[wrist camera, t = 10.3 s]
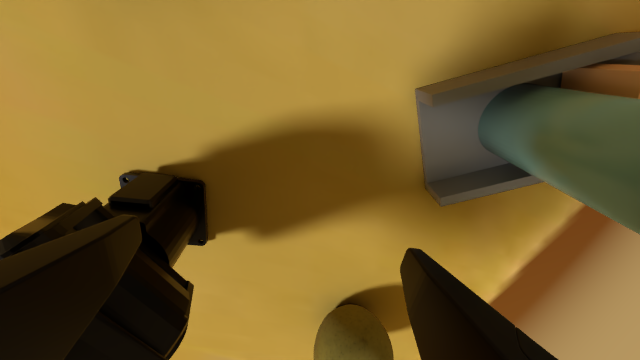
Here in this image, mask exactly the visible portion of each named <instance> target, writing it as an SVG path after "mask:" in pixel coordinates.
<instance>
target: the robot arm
mask: <svg viewBox="0 0 640 360" xmlns="http://www.w3.org/2000/svg"><path fill="white" fill-rule="evenodd" d="M126 178H128V179H129V181H128V180H127V179H126ZM119 181H120V186H121V189H120V190H118V191H117V192H115V193H114V194H113V195H111V196H110V197H109V198H108V202H109V203H107V204H106V205H105V206H102V204H103V203H102V202H100V201H99V200H98V199H97V198H96V197H95V198H94V199H92V200H91V201H89V202H87V203H86V204H85V203H84V202H83V201H82V202H81V203H79V204H78V205H72V204H66V203H62V204H60V205H59V206H57V207H55V208H54V209H52V210H51V211H49V212H47V213H46V214H44V215H42V216H41V217H39V218H37V219H36V220H34V221H32V222H30V223H28V224H27V225H25V226H23V227H21V228H19V229H18V230H16V231H14V232H12V233H11V234H9V235H7V236H6V237H4V238H3V239H1V240H0V360H169V359H170V358H171V356H172V355H173V354H174V353H175V351H176V350H177V348H178V347H179V345H180V343H181V342H182V340H183V338H184V335H185V333H186V330H187V326H188V320H189V313H190V307H191V301H192V294H193V288H194V285H193V284H192V283H191V282H189V281H186V280H185V279H184V278H183V277H181V276H180V275H179V274H178V273H177V272H176V271H175V270H174V269H173V268H172V267H173V266H174V264H175V263H176V261H177V259H178V258H179V256H180V255H181V253H182V252H183V250H184V248H185V247H186V245H198V246H203V245H205V244H206V243H207V241H208V230H207V209H206V189H205V184H204V182H203V181H201V180H194V179H185V178H177V177H176V176H173V175H164V174H154V173H145V172H144V173H142V174H138V173H124V174H122V175H121V176H120V177H119ZM196 185H199V186H200V188H198V187H196ZM200 239H202V240H203V241H201V240H200ZM400 273H401V279H402V284H403V290H404V295H405V301H406V306H407V311H408V315H409V319H410V323H411V326H412V330H413V333H414V336H415V340H416V343H417V347H418V350H419V354H420V357H421V360H558V359H557V358H555V357H554V356H553V355H551V354H550V353H549V352H547V351H546V350H545V349H543V348H542V347H541V346H540V345H538V344H537V343H536V342H535V341H533V340H532V339H531V338H529V337H528V336H527V335H526V334H525V333H523V332H522V331H521V330H520V329H519V328H517V327H516V328H515V325H514V324H512V323H511V322H510V321H509V320H507V319H506V318H505V317H504V316H502V315H501V314H500V313H499V312H497V311H496V310H495V309H494V308H492V307H491V306H490V305H489V304H488V303H486V302H485V301H484V300H483V299H481V298H480V297H479V296H478V295H476V294H475V293H474V292H473V291H471V290H470V289H469V288H468V287H466V286H465V285H464V284H463V283H462V282H460V281H459V280H458V279H457V278H455V277H454V276H453V275H452V274H450V273H449V272H448V271H447V270H445V269H444V268H443V267H442V266H440V265H439V264H438V263H437V262H436V261H434V260H433V259H432V258H431V257H429V256H428V255H427V254H426V253H424V252H423V251H422V250H420V249H416V248H408V249H407V251H406V253H405V255H404V258H403V261H402V263H401V267H400Z"/></svg>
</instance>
